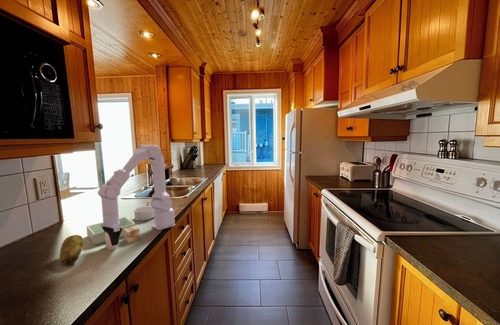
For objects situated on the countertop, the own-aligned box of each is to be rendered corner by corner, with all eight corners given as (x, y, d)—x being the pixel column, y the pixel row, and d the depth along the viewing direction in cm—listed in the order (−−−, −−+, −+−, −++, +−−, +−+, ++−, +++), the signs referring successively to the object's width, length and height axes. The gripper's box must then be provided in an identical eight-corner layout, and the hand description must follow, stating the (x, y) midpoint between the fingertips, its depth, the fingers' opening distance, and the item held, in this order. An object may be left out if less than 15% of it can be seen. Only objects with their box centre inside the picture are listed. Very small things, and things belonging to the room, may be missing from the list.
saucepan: (158, 209, 147) (158, 201, 146) (154, 220, 128) (154, 211, 127) (139, 211, 144) (138, 202, 143) (132, 222, 125) (131, 213, 124)
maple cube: (135, 235, 108) (135, 225, 108) (139, 239, 105) (139, 228, 104) (124, 239, 105) (123, 229, 104) (128, 242, 101) (127, 232, 101)
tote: (126, 225, 120) (125, 216, 119) (135, 233, 111) (135, 223, 110) (87, 236, 107) (86, 226, 107) (94, 245, 98) (93, 234, 98)
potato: (48, 269, 80) (46, 248, 80) (68, 251, 93) (66, 233, 92) (75, 266, 82) (73, 245, 81) (91, 249, 95) (89, 231, 94)
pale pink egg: (117, 243, 101) (116, 228, 100) (121, 246, 97) (120, 231, 96) (104, 247, 97) (103, 231, 96) (108, 251, 94) (107, 235, 93)
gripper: (94, 210, 97) (97, 240, 99) (104, 218, 88) (107, 251, 89) (113, 206, 103) (115, 235, 104) (124, 214, 93) (126, 245, 94)
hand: (112, 242), depth 97 cm, fingers open, 5 cm apart
